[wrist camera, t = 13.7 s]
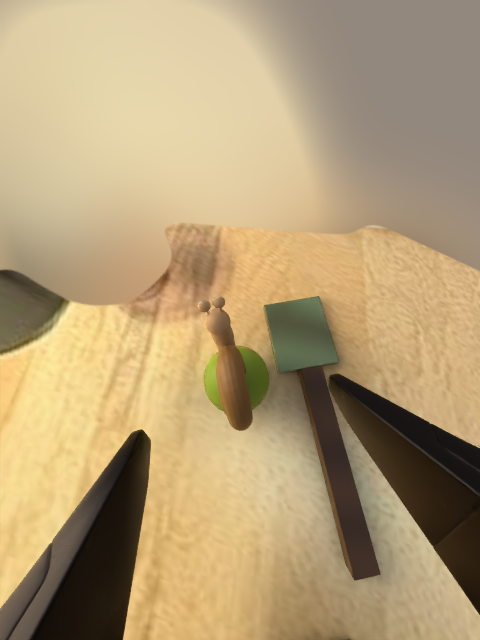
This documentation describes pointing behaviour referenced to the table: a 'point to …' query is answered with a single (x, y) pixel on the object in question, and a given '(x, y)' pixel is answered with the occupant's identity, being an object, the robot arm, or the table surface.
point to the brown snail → (232, 370)
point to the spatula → (322, 418)
